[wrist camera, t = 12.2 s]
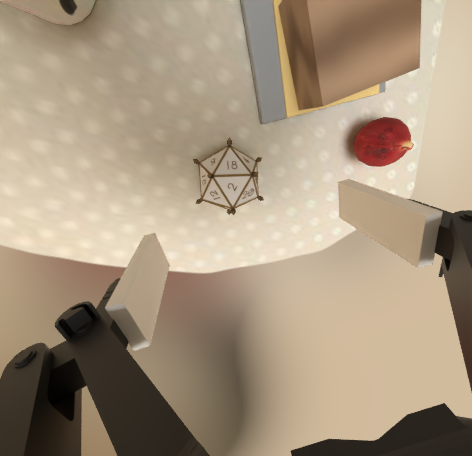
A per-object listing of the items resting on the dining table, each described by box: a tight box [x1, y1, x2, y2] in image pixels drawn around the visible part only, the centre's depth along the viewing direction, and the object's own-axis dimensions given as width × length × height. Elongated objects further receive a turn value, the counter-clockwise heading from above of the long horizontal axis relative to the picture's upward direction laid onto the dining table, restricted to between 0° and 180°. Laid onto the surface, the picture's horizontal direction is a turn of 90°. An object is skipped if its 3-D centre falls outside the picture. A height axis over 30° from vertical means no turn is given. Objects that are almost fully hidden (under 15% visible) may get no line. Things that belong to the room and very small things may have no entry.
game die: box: [193, 137, 264, 215], centre depth 27 cm, size 9×8×10 cm
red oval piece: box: [354, 117, 414, 167], centre depth 28 cm, size 6×6×8 cm
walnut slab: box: [278, 0, 421, 110], centre depth 22 cm, size 10×10×6 cm
